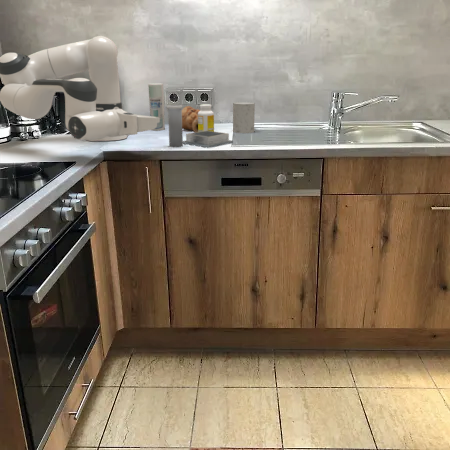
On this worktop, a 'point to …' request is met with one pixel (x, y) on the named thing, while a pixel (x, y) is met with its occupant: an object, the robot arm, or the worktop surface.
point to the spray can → (157, 104)
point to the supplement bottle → (205, 118)
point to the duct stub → (175, 125)
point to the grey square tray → (207, 139)
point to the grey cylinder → (243, 117)
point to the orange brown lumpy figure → (190, 118)
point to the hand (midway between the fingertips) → (149, 118)
